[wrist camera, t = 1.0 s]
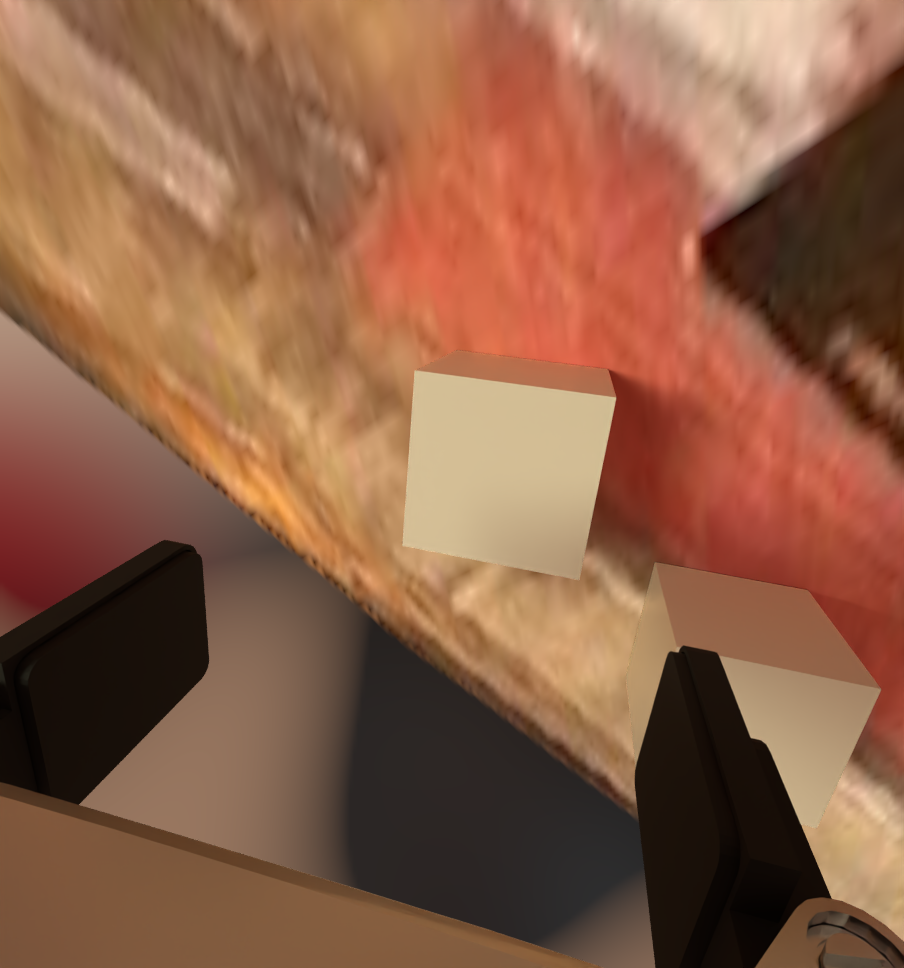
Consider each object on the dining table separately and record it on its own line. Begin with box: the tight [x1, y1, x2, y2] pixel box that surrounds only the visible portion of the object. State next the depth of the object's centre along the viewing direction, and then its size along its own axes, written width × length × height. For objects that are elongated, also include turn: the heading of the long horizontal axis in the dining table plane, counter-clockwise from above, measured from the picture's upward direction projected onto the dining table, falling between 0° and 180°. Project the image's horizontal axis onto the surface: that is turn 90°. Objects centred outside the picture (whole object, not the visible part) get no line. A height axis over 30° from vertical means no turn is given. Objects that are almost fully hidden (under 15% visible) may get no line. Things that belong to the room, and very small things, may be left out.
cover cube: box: [402, 350, 616, 580], centre depth 23 cm, size 7×7×7 cm
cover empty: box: [626, 562, 881, 828], centre depth 25 cm, size 7×7×7 cm
